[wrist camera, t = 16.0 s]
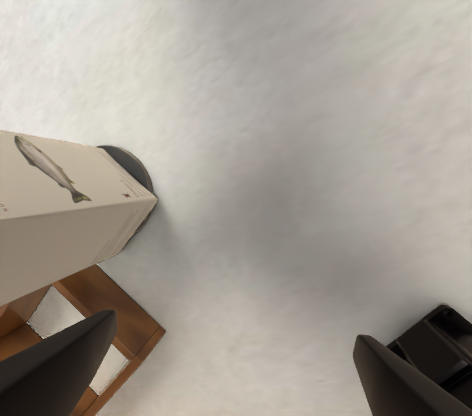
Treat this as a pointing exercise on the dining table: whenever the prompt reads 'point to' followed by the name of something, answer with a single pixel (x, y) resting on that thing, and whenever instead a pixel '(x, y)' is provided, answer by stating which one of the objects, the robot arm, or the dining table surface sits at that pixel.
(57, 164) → the white packaging box
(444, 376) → the robot arm
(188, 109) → the dining table surface
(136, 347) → the brown square shallow frame
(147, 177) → the slate coaster
